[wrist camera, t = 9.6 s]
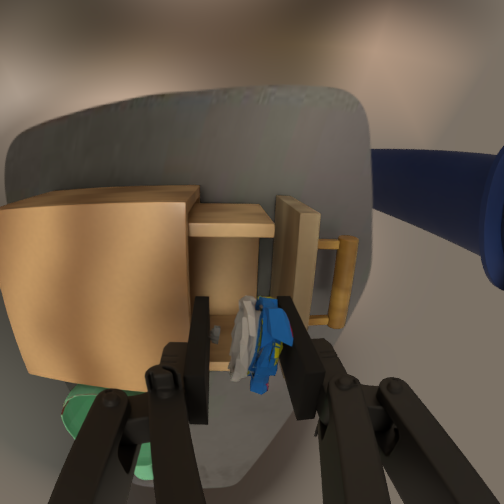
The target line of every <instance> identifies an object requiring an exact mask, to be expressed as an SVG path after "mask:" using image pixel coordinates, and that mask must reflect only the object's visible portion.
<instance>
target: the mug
mask: <svg viewBox="0 0 504 504" xmlns="http://www.w3.org/2000/svg"><path fill="white" fill-rule="evenodd" d="M106 389H109V388H104V387H97V386H90V385H84V384H78V385H77V386H75V387H74V389H72V390H71V392H70V393H69V394H68V396H67V398H66V400H65V402H64V404H63V406H64V407H63V410H62V413H61V418H62V421H63V423H64V425H65V427H66V429H67V430H68V432H69V433H70V434H71V435H72V436H73V438H74V439H76V437H77V434H78V432H79V430H80V428H81V426H82V424H83V422H84V420H85V418H86V416H87V414H88V411H89V409H90V407H91V405H92V403H93V401H94V399H95V397H96V396H97V395H98V393H100V392H101V391H103V390H106ZM122 391H124V392H125V393H126V394H127V396H134V395H139V394H143V393H145V392H140V391H129V390H122ZM134 474H135V475H136V476H137V477H138V478H140V479H143V480H152V479H153V471H152V460H151V447H150V442H149V443H143V444H142V445H141V449H140V453H139V456H138V460H137V464H136V468H135V472H134Z"/></svg>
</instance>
